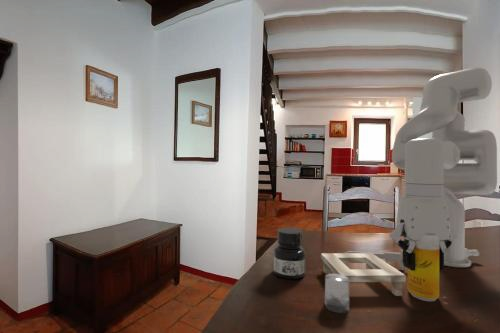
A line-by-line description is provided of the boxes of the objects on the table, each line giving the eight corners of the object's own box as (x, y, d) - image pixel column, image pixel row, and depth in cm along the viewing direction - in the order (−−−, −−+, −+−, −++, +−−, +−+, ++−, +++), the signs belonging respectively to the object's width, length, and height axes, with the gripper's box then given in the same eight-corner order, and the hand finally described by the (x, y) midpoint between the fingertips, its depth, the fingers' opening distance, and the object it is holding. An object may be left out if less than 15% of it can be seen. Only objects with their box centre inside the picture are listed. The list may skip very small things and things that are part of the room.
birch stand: (371, 270, 73) (371, 253, 73) (405, 296, 58) (405, 275, 58) (320, 270, 72) (321, 253, 72) (341, 297, 57) (341, 275, 57)
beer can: (401, 289, 61) (402, 228, 61) (424, 289, 62) (425, 228, 62) (420, 303, 55) (420, 235, 55) (446, 302, 56) (446, 235, 56)
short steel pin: (343, 300, 56) (343, 273, 56) (353, 312, 51) (353, 283, 51) (321, 300, 56) (321, 273, 56) (329, 313, 51) (329, 283, 51)
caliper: (412, 272, 72) (412, 250, 72) (411, 273, 72) (411, 251, 72) (344, 254, 87) (344, 236, 87) (343, 254, 86) (343, 236, 86)
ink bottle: (269, 277, 67) (269, 233, 67) (274, 265, 76) (275, 226, 76) (306, 282, 65) (306, 236, 65) (307, 269, 73) (307, 228, 73)
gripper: (445, 190, 63) (445, 262, 62) (378, 189, 62) (378, 262, 62) (473, 193, 55) (473, 274, 55) (397, 192, 54) (397, 275, 54)
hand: (423, 267), depth 58 cm, fingers closed on beer can, 6 cm apart
